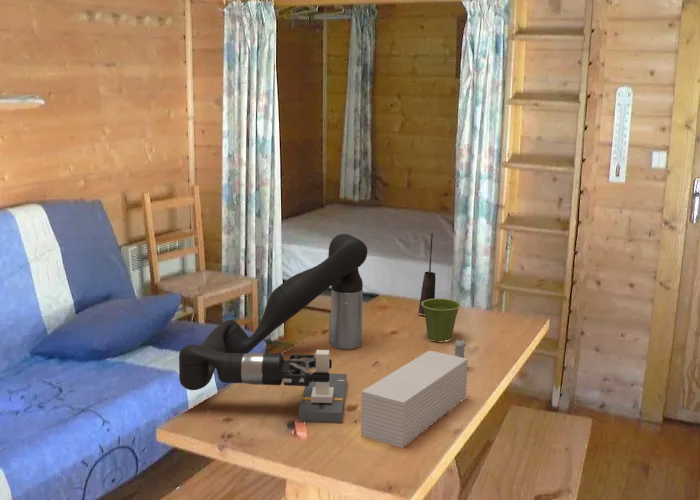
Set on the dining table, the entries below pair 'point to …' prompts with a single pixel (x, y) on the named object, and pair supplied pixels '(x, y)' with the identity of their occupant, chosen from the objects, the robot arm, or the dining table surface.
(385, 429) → the stack of papers
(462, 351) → the rook chess piece
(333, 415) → the fader console
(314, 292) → the robot arm
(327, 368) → the fader tab
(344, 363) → the dining table surface
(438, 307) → the plant pot
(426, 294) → the butter churn
